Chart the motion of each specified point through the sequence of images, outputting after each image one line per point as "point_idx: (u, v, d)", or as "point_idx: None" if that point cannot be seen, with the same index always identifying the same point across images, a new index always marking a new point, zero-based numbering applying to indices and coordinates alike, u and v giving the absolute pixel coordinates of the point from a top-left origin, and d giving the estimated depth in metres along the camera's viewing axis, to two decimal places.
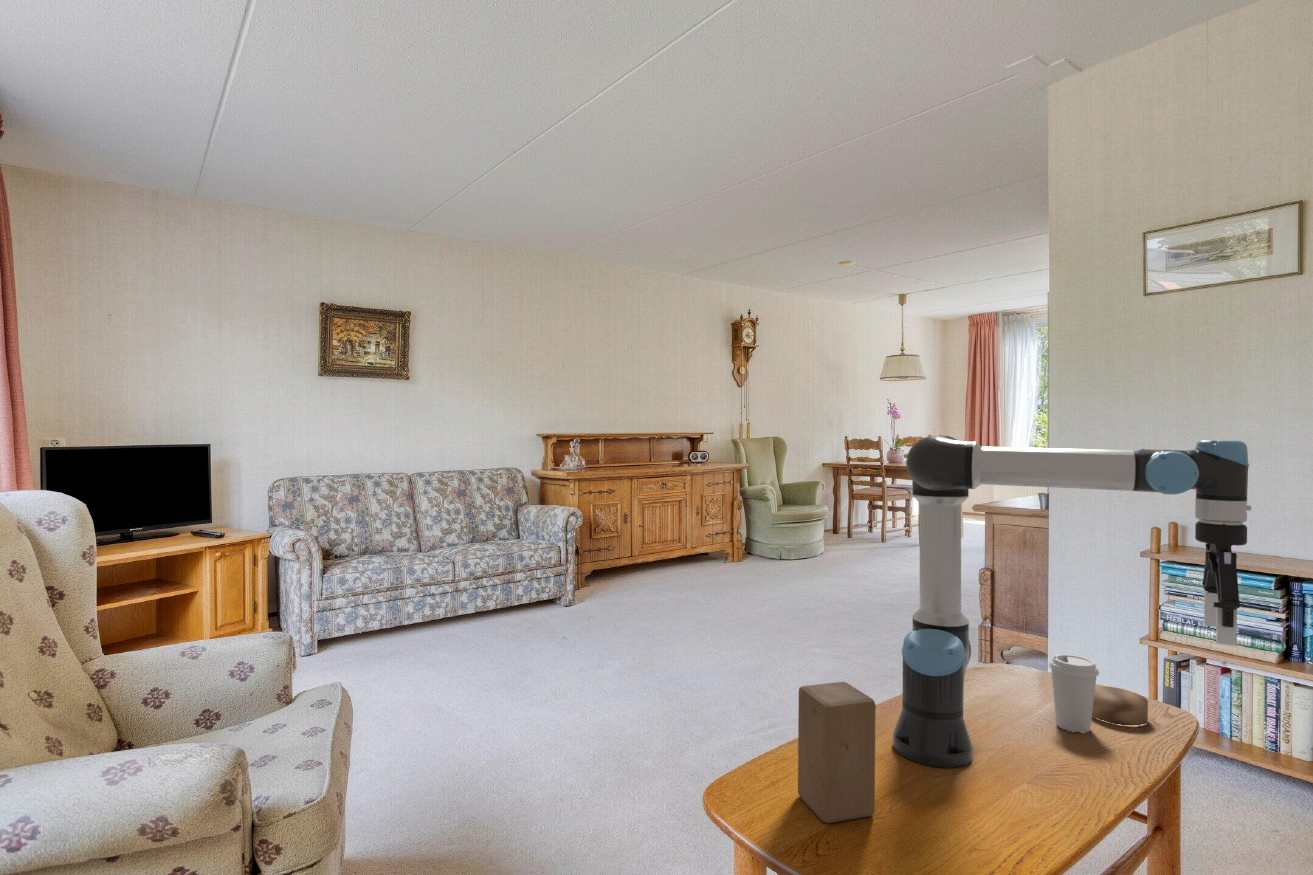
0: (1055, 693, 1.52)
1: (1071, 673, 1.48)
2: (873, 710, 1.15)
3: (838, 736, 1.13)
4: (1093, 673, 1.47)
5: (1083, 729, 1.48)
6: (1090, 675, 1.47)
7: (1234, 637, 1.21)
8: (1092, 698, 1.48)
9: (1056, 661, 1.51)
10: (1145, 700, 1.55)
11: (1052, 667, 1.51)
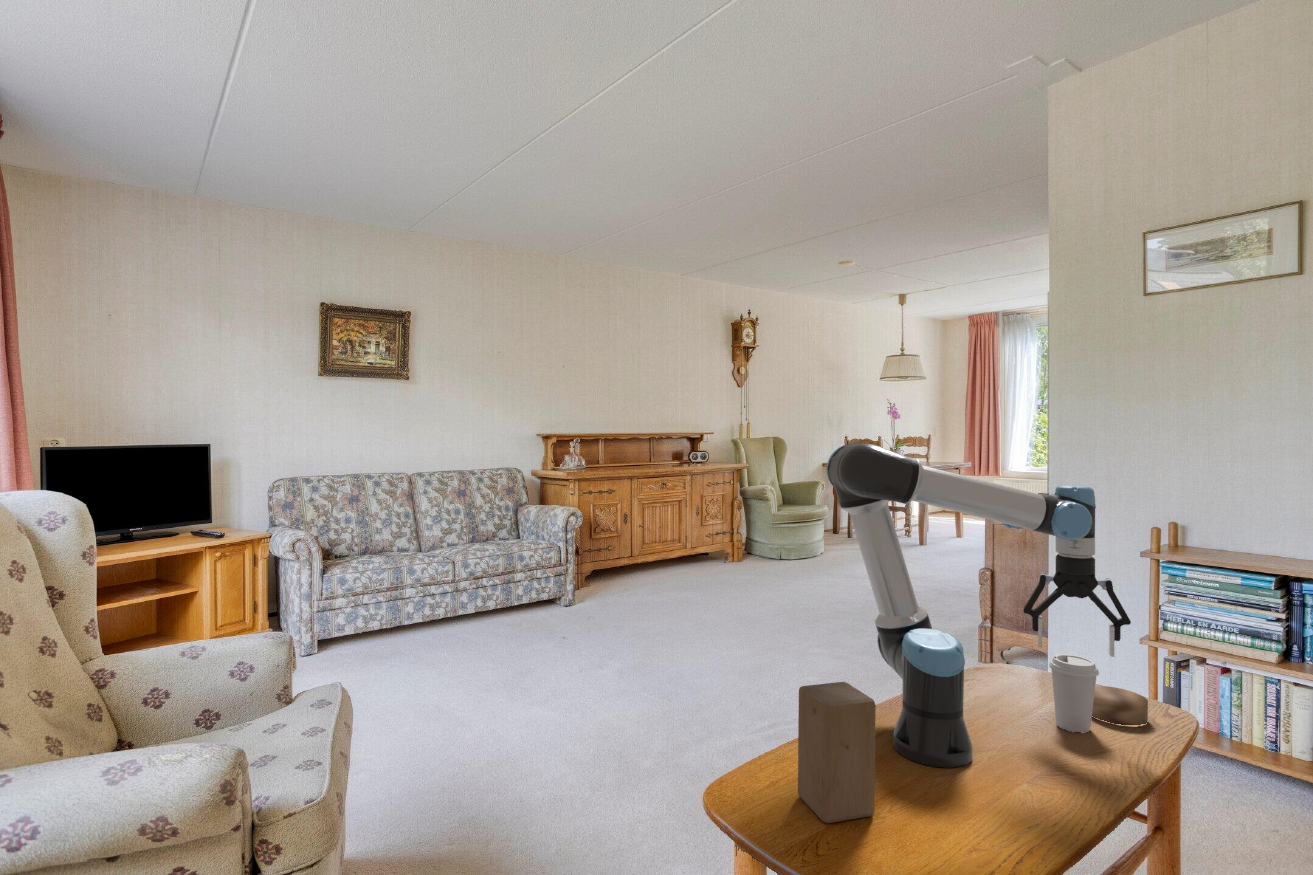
0: (1055, 693, 1.52)
1: (1071, 673, 1.48)
2: (873, 710, 1.15)
3: (838, 736, 1.13)
4: (1093, 673, 1.47)
5: (1083, 729, 1.48)
6: (1090, 675, 1.47)
7: (1038, 640, 1.54)
8: (1092, 698, 1.48)
9: (1056, 661, 1.51)
10: (1145, 700, 1.55)
11: (1052, 667, 1.51)
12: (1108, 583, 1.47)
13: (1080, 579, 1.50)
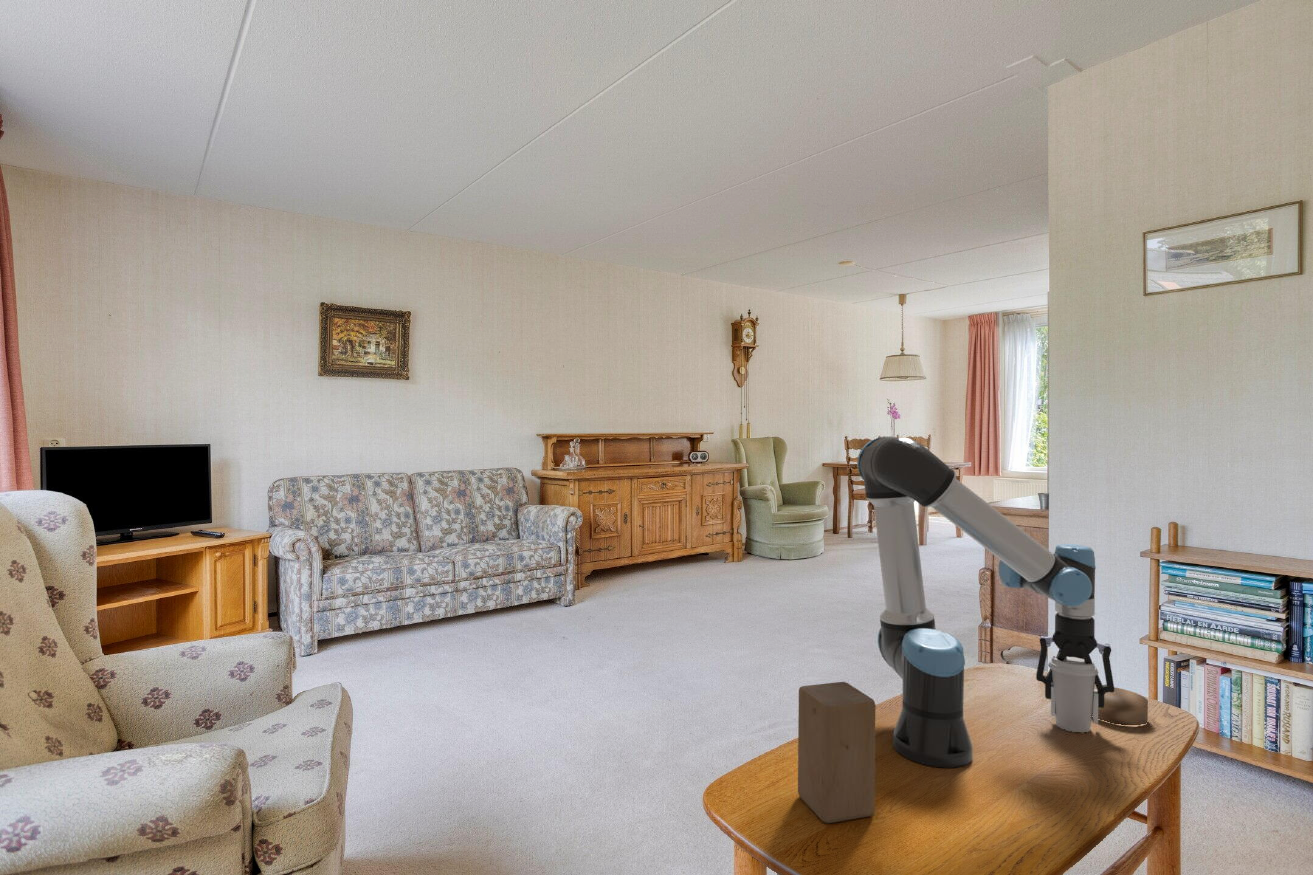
0: (1054, 693, 1.52)
1: (1070, 672, 1.48)
2: (873, 710, 1.15)
3: (838, 736, 1.13)
4: (1093, 673, 1.47)
5: (1083, 729, 1.48)
6: (1089, 674, 1.47)
7: (1051, 708, 1.53)
8: (1091, 698, 1.48)
9: (1055, 661, 1.51)
10: (1145, 700, 1.55)
11: (1051, 667, 1.52)
12: (1107, 649, 1.47)
13: (1081, 637, 1.50)
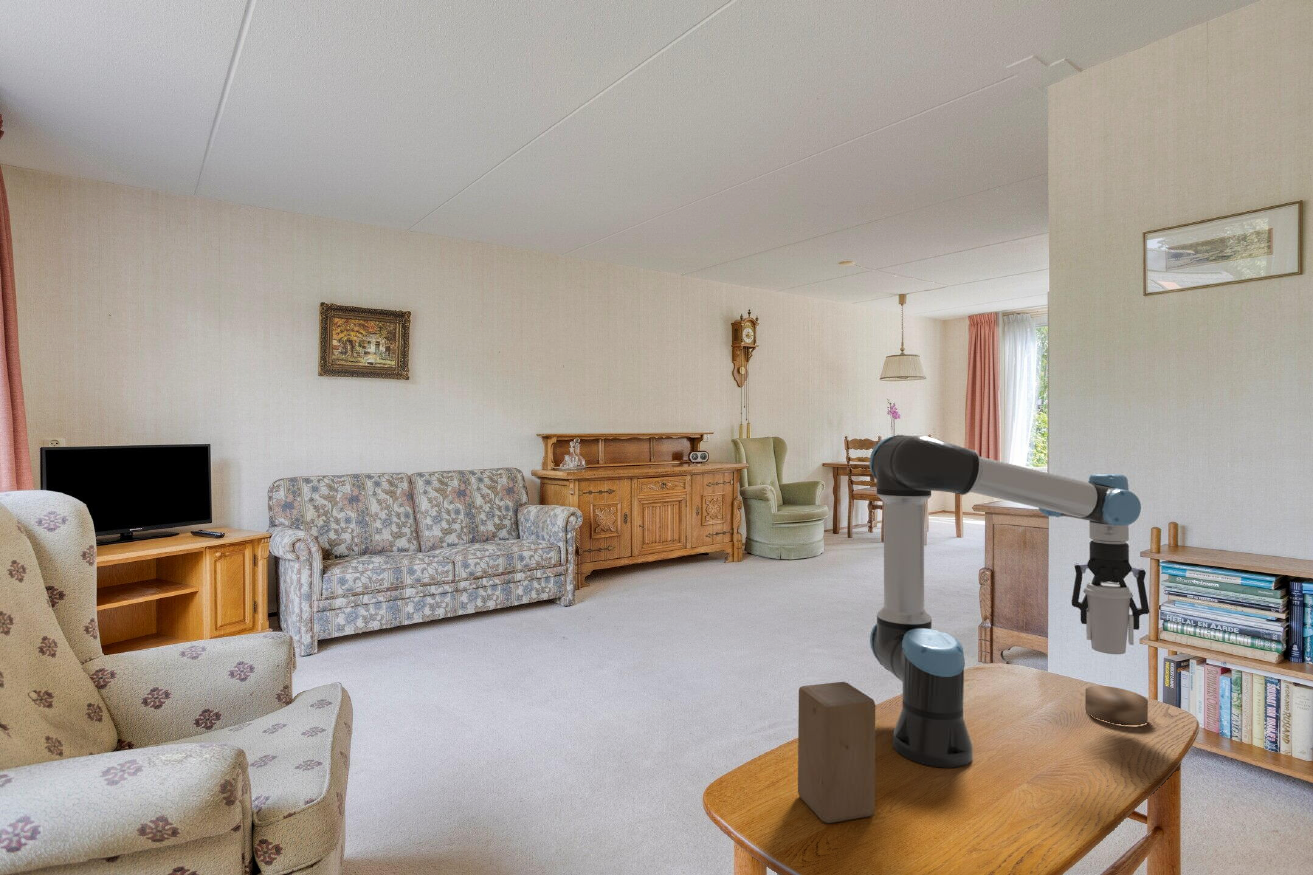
0: (1090, 617, 1.56)
1: (1106, 596, 1.52)
2: (873, 710, 1.15)
3: (838, 736, 1.13)
4: (1128, 596, 1.52)
5: (1119, 650, 1.53)
6: (1124, 597, 1.51)
7: (1086, 632, 1.57)
8: (1127, 620, 1.53)
9: (1090, 586, 1.56)
10: (1145, 700, 1.55)
11: (1086, 592, 1.56)
12: (1141, 572, 1.52)
13: (1116, 562, 1.54)
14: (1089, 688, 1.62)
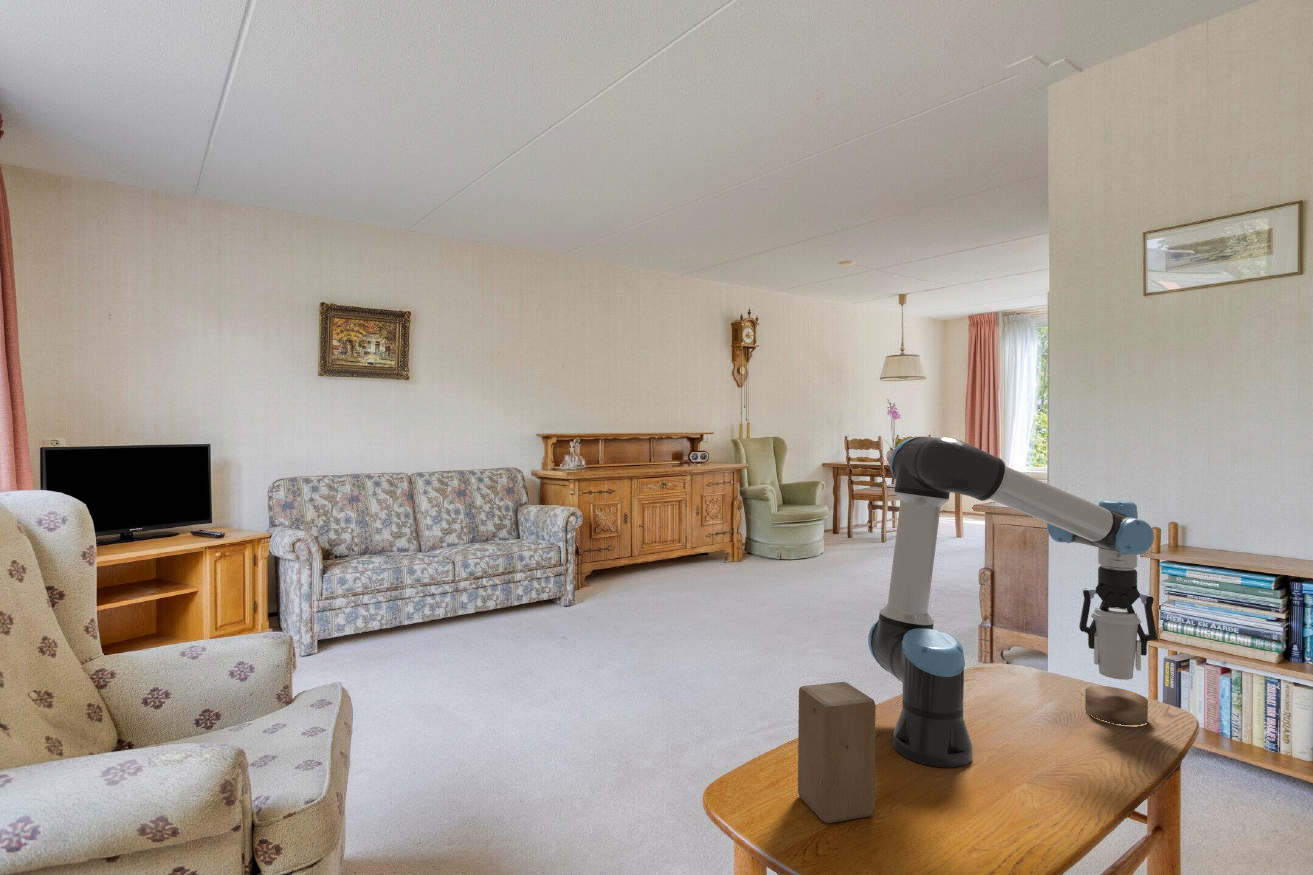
0: (1098, 642, 1.58)
1: (1114, 621, 1.54)
2: (873, 710, 1.15)
3: (838, 736, 1.13)
4: (1136, 622, 1.53)
5: (1126, 675, 1.54)
6: (1132, 623, 1.53)
7: (1094, 657, 1.59)
8: (1134, 646, 1.55)
9: (1099, 611, 1.57)
10: (1145, 700, 1.55)
11: (1095, 617, 1.58)
12: (1150, 599, 1.53)
13: (1124, 588, 1.56)
14: (1089, 688, 1.62)
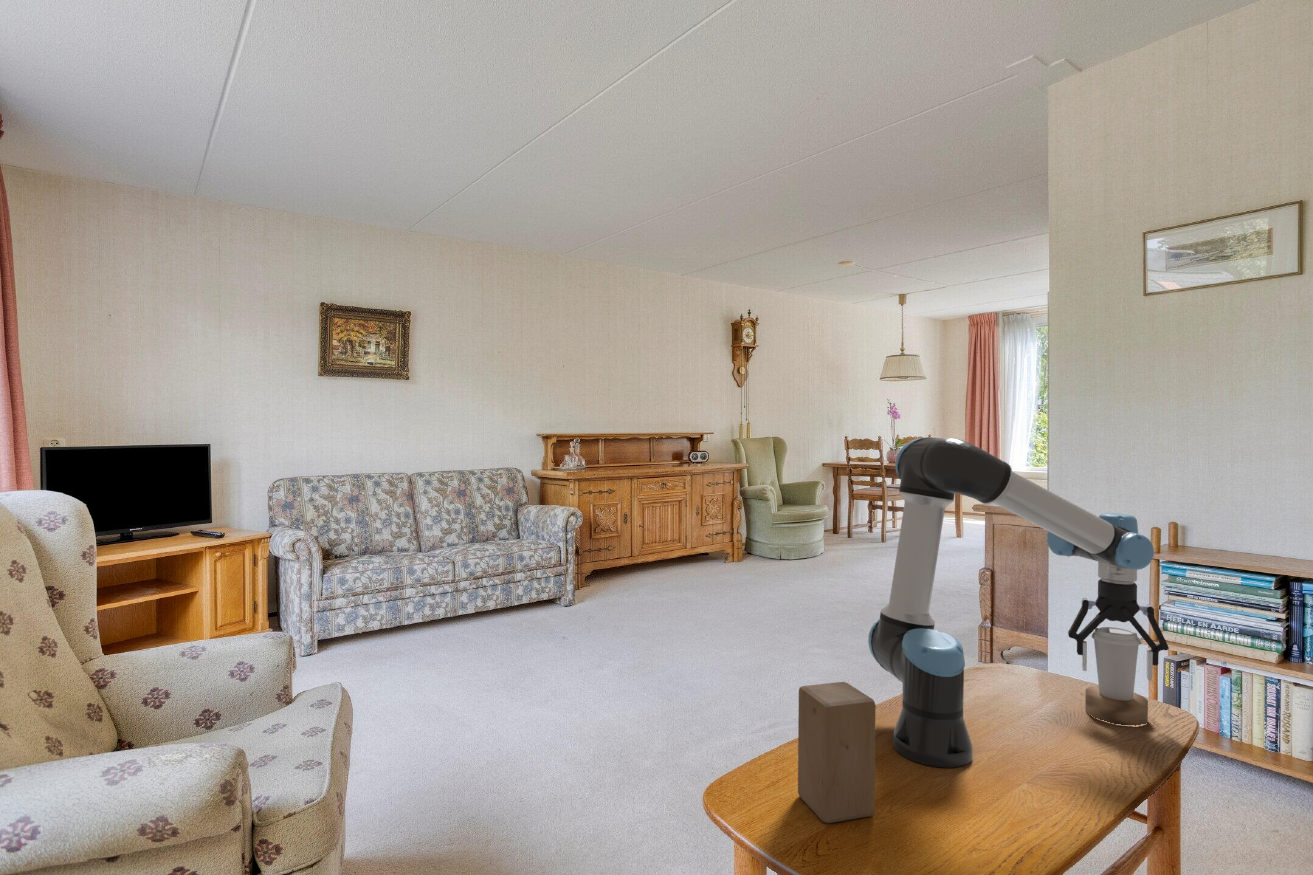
0: (1098, 663, 1.58)
1: (1114, 642, 1.54)
2: (873, 710, 1.15)
3: (838, 736, 1.13)
4: (1136, 643, 1.53)
5: (1126, 697, 1.54)
6: (1132, 644, 1.53)
7: (1082, 663, 1.60)
8: (1135, 667, 1.54)
9: (1099, 632, 1.57)
10: (1145, 700, 1.55)
11: (1095, 637, 1.58)
12: (1150, 609, 1.53)
13: (1122, 603, 1.56)
14: (1089, 688, 1.62)
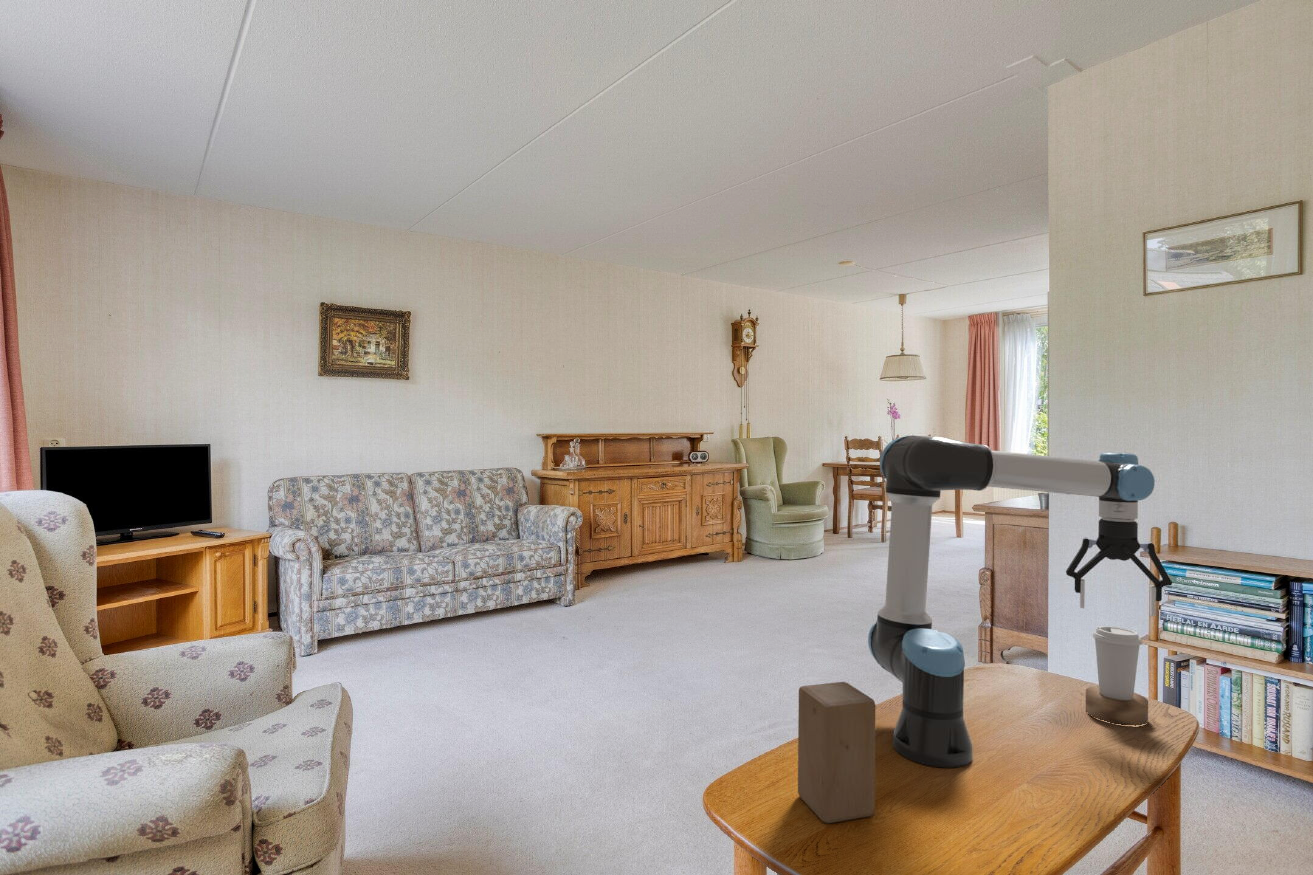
0: (1099, 662, 1.58)
1: (1115, 642, 1.54)
2: (873, 710, 1.15)
3: (838, 736, 1.13)
4: (1137, 643, 1.53)
5: (1126, 696, 1.54)
6: (1133, 644, 1.53)
7: (1080, 601, 1.60)
8: (1135, 667, 1.54)
9: (1100, 631, 1.58)
10: (1145, 700, 1.55)
11: (1096, 637, 1.58)
12: (1150, 546, 1.53)
13: (1123, 542, 1.56)
14: (1090, 688, 1.62)
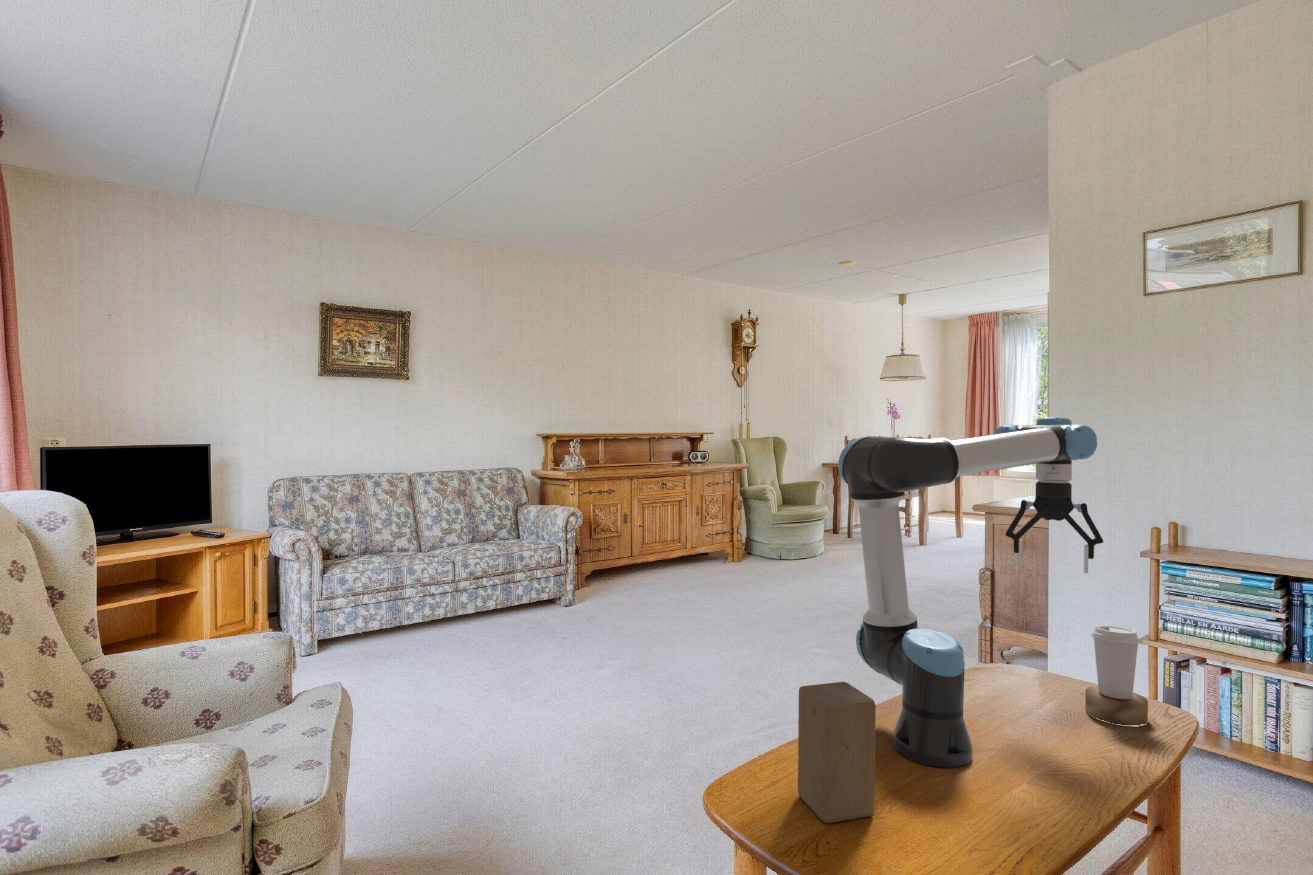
0: (1098, 661, 1.58)
1: (1114, 640, 1.54)
2: (873, 710, 1.15)
3: (838, 736, 1.13)
4: (1136, 641, 1.54)
5: (1126, 695, 1.54)
6: (1132, 642, 1.54)
7: None
8: (1134, 665, 1.55)
9: (1099, 630, 1.58)
10: (1145, 700, 1.55)
11: (1095, 636, 1.58)
12: (1083, 506, 1.60)
13: (1058, 503, 1.62)
14: (1089, 688, 1.62)
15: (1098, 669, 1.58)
